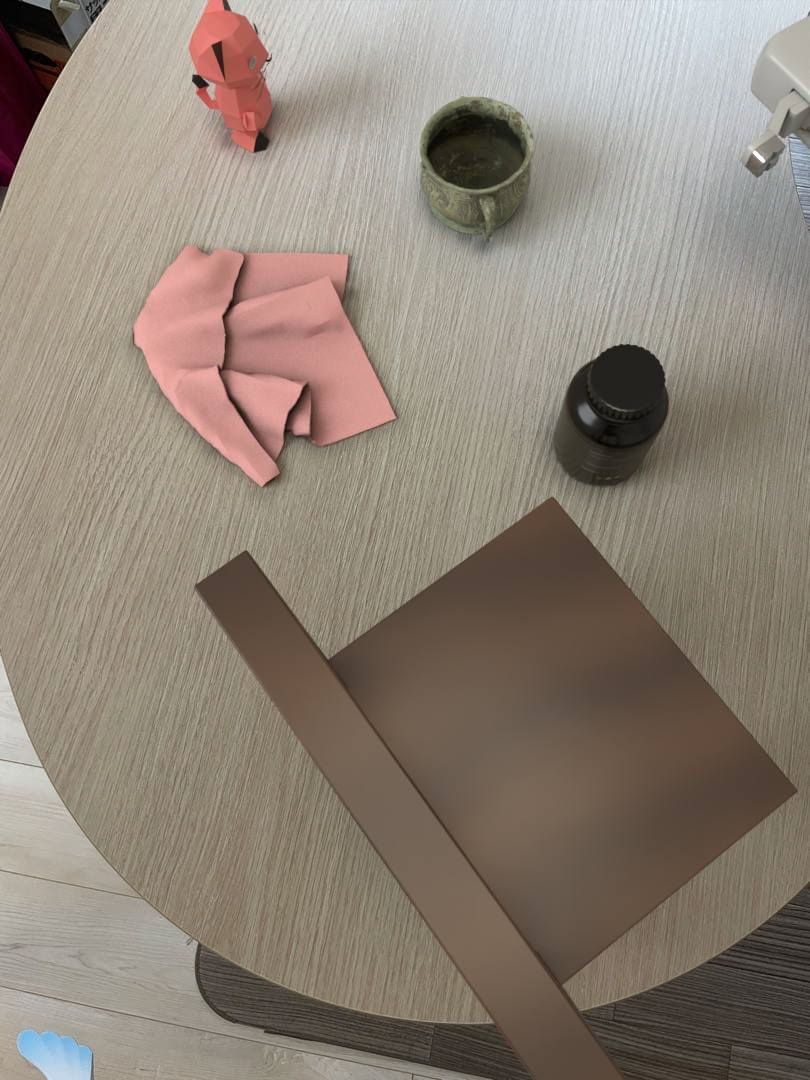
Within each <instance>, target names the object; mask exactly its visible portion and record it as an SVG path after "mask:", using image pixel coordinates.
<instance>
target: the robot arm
mask: <svg viewBox="0 0 810 1080" xmlns="http://www.w3.org/2000/svg"><path fill="white" fill-rule="evenodd" d="M749 89H750V92H751V94H752V95H753V96H754V97H755V98H756V99H757V100H758V101H759V102H760V103H761V104H762V105H763V106H764V107H765V108H766V109H767V110H768V111H769V112H770V113H771V114H772V115H771V117H770V119H769V121H768V123H767V125H766V127H765V130H764V132H763V133H762V134H761V135H759V136H758V137H756V139H754V140H752V141H751V142H750V143H749V144H748V145H747V146H746V148H745V149H744V151H743V153H742V155H741V157H740V159H739V162H740V163H741V165H743V167H745V168H746V169H747V170H748V171H749V172H750V173H751V174H752V175H753V176H754V177H755V178H760V177H761V176H763V175H764V172H768V171H770V170H771V169H772V168H773V167H776V166H777V164H778V162H779V160H780V156H781V155H782V154H783V153H784V151H785V150H786V147H787V145H786V144H785V143H784V142H783V141H782V140H781V139H786V138H788V137H789V136H790V135H792V134H793V135H794V136H795V137H796V138H797V139H798V140H799V141H800V142H802V144H804V146H805V147H807V149H809V150H810V15H807V16H805V17H804V18H802V19H800V20H797V21H795V22H794V23H793V24H791V25H789V26H787V27H785V28H783V29H782V30H780V31H779V32H777V33H775V34H774V35H773V36H772V37H770V38H769V39H768V40H767V42H766V43H765V44H764V46H763V47H762V50H761V52H760V54H759V56H758V58H757V60H756V62H755V65H754V68H753V71H752V75H751V80H750V88H749ZM778 136H779V137H780V138H781V139H780V138H779V137H778Z"/></svg>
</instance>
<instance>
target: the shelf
mask: <svg viewBox="0 0 810 1080" xmlns="http://www.w3.org/2000/svg"><path fill="white" fill-rule="evenodd" d="M193 588H194V590H195V592H196V594H197V595H198V596H199V597H200V599H201V601H202V602H203V604H204V605H205V606H206V608H207V609H208V611H209V612H210V614H211V615H212V617H213V618H214V619H215V621H216V622H217V624H218V625H219V627H220V628H221V630H222V631H223V632H224V634H225V635H226V637H227V639H228V640H229V641H230V642H231V644H232V645H233V647H234V648H235V650H236V651H237V653H238V654H239V656H240V657H241V659H242V660H243V661H244V663H245V664H246V666H247V667H248V669H249V670H250V671H251V673H252V675H253V676H254V677H255V679H256V680H257V682H258V683H259V685H260V686H261V687H262V689H263V690H264V692H265V693H266V695H267V696H268V698H269V699H270V701H271V702H272V703H273V705H274V707H276V710H278V712H279V714H280V716H282V718H283V719H284V721H285V722H286V724H287V725H288V727H289V728H290V730H291V731H292V733H293V734H294V735H295V737H296V739H298V741H299V743H300V744H301V745H302V747H303V749H305V751H306V752H307V753H306V754H308V756H309V757H310V758H311V760H312V762H313V763H314V764H315V766H316V767H317V768H318V770H319V772H320V773H321V774H322V776H323V778H324V779H325V780H326V781H327V784H328V785H329V787H331V789H332V791H333V792H334V793H335V795H336V796H337V798H338V799H339V801H340V802H341V803H342V805H343V806H344V808H345V809H346V810H347V812H348V814H349V815H350V816H351V818H352V819H353V821H354V822H355V824H356V825H357V827H358V828H359V829H360V830H361V832H362V834H363V835H364V837H365V838H366V840H367V841H368V842H369V844H370V845H371V847H372V848H373V849H374V851H375V852H376V854H377V855H378V857H379V858H380V860H381V861H382V863H383V864H384V866H385V867H386V868H387V870H388V872H389V873H390V874H391V876H392V877H393V879H394V880H395V882H396V883H397V885H398V886H399V888H400V889H401V890H402V892H403V893H404V895H405V896H406V897H407V899H408V900H409V901H410V903H411V905H412V906H413V908H414V909H415V911H416V912H417V913H418V915H419V916H420V918H421V920H422V921H423V922H424V923H425V925H426V927H427V928H428V930H429V931H430V932H431V933H432V935H433V936H434V938H435V940H436V941H437V942H438V944H439V945H440V947H441V948H442V949H443V951H444V953H445V954H446V955H447V957H448V958H449V959H450V962H452V964H453V966H454V967H455V969H456V970H457V971H458V973H459V974H460V975H461V977H462V979H463V980H464V982H465V983H466V984H467V986H468V987H469V989H470V990H471V991H472V993H473V995H474V996H475V997H476V999H477V1000H478V1002H479V1003H480V1004H481V1006H482V1008H483V1009H484V1010H485V1012H486V1014H487V1015H488V1016H489V1018H490V1019H491V1021H492V1022H493V1024H494V1025H495V1026H496V1028H497V1029H498V1030H499V1032H500V1034H501V1035H502V1036H503V1038H504V1039H505V1041H506V1042H507V1044H508V1045H509V1046H510V1048H511V1050H512V1051H513V1052H514V1054H515V1055H516V1057H517V1058H518V1060H519V1061H520V1063H521V1064H522V1065H523V1067H524V1069H525V1070H526V1072H528V1074H529V1076H530V1077H531V1079H532V1080H629V1079H628V1078H627V1076H626V1075H625V1073H624V1072H623V1071H622V1069H621V1068H620V1066H619V1065H618V1063H617V1062H616V1061H615V1059H614V1058H613V1056H612V1055H611V1053H610V1052H609V1050H608V1049H607V1047H606V1046H605V1045H604V1043H603V1042H602V1040H601V1039H600V1037H599V1036H598V1035H597V1034H596V1032H595V1030H594V1029H593V1027H592V1026H591V1025H590V1023H589V1022H588V1020H587V1019H586V1018H585V1016H584V1015H583V1013H582V1012H581V1010H580V1009H579V1007H578V1006H577V1005H576V1003H575V1001H574V1000H573V999H572V997H571V996H570V994H568V991H567V990H566V989H565V988H564V986H563V985H564V984H566V983H567V982H568V981H570V979H572V978H573V977H574V976H575V975H577V974H578V973H580V971H582V969H583V968H585V967H587V966H588V965H589V964H590V963H592V962H593V961H594V960H595V959H596V958H598V957H599V956H600V955H601V954H602V953H603V952H605V951H606V950H607V949H608V948H609V947H611V946H612V945H613V944H614V943H616V942H617V941H618V940H619V939H620V938H622V937H623V936H624V935H625V934H627V933H628V932H629V931H630V930H632V928H634V927H635V926H636V925H638V924H639V923H640V922H641V921H642V920H644V919H645V918H646V917H648V916H649V915H650V914H651V913H652V912H653V911H654V910H656V909H658V907H660V906H661V905H662V904H663V903H664V902H666V901H667V900H668V899H669V898H670V897H671V896H673V895H674V894H675V893H677V892H678V891H679V890H680V889H681V888H682V887H684V886H685V885H686V884H687V883H689V881H692V879H693V878H695V877H696V876H697V875H699V874H700V873H701V872H702V871H703V870H705V869H706V867H708V866H709V865H711V864H712V863H713V862H714V861H716V860H717V859H718V858H719V857H720V856H721V855H723V854H724V853H725V852H726V851H728V850H729V849H730V848H731V847H732V846H733V845H735V844H736V843H737V842H738V841H740V840H741V839H742V838H744V836H746V835H747V834H749V833H750V832H751V831H752V830H753V829H754V828H756V827H757V826H758V825H759V824H760V823H761V822H763V821H764V820H765V819H767V818H768V817H769V816H770V815H772V813H774V812H775V811H776V810H778V809H779V808H780V807H781V806H782V805H783V804H785V803H786V802H787V801H788V800H790V799H791V798H792V797H793V796H795V795H796V794H797V793H798V789H797V787H795V785H794V784H793V783H792V782H791V780H790V779H789V778H788V777H787V776H786V774H785V773H784V772H783V770H781V768H780V767H779V765H777V764H776V762H775V761H774V760H773V759H772V758H771V756H770V755H769V754H768V753H767V752H766V750H765V749H764V748H763V747H762V746H761V745H760V743H759V742H758V741H757V739H756V738H755V737H754V736H753V734H751V732H750V731H749V730H748V728H746V726H745V725H744V724H743V723H742V721H740V719H739V718H738V717H737V715H736V714H735V713H734V712H733V711H732V710H731V708H730V707H729V706H728V705H727V704H726V702H725V701H724V700H723V699H722V697H721V696H720V695H719V694H718V693H717V691H716V690H715V689H714V688H713V687H712V685H711V684H710V683H709V682H708V681H707V680H706V678H705V677H704V676H703V675H702V674H701V672H700V671H699V670H698V669H697V667H696V666H695V665H694V664H693V663H692V661H691V660H690V659H689V658H688V657H687V655H686V654H685V653H684V652H683V651H682V649H681V648H680V647H679V646H678V645H677V644H676V642H675V641H674V640H673V639H672V637H671V636H670V635H669V634H668V633H667V632H666V630H665V629H664V628H663V627H662V626H661V624H660V623H659V622H658V621H657V619H656V618H655V617H654V616H653V615H652V614H651V612H650V611H649V609H647V607H646V606H645V605H644V604H643V603H642V601H641V599H639V598H638V596H637V595H635V593H634V591H632V590H631V588H630V587H629V586H628V585H627V583H626V582H625V581H624V580H623V579H622V577H621V576H620V575H619V574H618V573H617V571H616V570H615V569H614V568H613V567H612V566H611V564H610V563H609V562H608V561H607V559H606V558H605V557H604V556H603V555H602V553H601V552H600V551H599V550H598V549H597V548H596V546H595V545H594V544H593V542H592V541H591V540H590V539H589V537H588V536H587V535H586V534H585V533H584V532H583V531H582V530H581V528H580V527H579V526H578V525H577V523H576V522H575V521H574V520H573V519H572V517H571V516H570V515H569V514H568V513H567V511H566V510H565V509H564V507H562V505H561V504H560V503H559V502H558V500H557V499H556V498H555V497H554V496H550V497H549V498H547V499H546V500H545V501H543V502H542V503H541V504H539V505H537V506H536V507H535V508H534V509H532V510H531V511H530V512H528V513H526V514H525V515H524V516H523V517H521V518H520V519H519V520H517V521H516V522H514V523H513V524H511V525H510V526H508V527H507V528H506V529H505V530H504V531H502V532H501V533H499V534H498V535H497V536H495V537H494V538H492V539H491V540H490V541H488V542H487V543H486V544H484V545H483V546H481V547H480V548H479V549H477V550H476V551H474V552H473V553H472V554H470V556H467V557H466V558H465V559H464V560H462V561H461V562H460V563H458V564H457V565H455V566H454V567H453V568H451V569H450V570H449V571H447V572H446V573H444V574H443V575H442V576H440V577H439V578H438V579H436V580H435V581H434V582H433V583H431V584H429V585H428V586H427V587H425V588H424V589H423V590H421V591H420V592H418V593H417V594H416V595H415V596H413V597H412V598H410V599H409V600H407V601H406V602H405V603H404V604H402V605H401V606H400V607H398V608H397V609H395V610H394V611H392V612H391V613H390V614H388V615H387V616H386V617H385V618H383V619H382V620H380V621H379V622H378V623H376V624H374V625H373V626H372V627H370V628H369V629H368V630H366V631H365V632H363V633H362V634H361V635H360V636H358V637H357V638H356V639H354V640H352V641H351V642H350V643H349V644H347V645H346V646H345V647H343V648H342V649H340V650H339V651H337V653H335V654H334V655H332V656H331V657H329V658H328V657H327V656H326V654H325V653H324V652H323V651H322V649H321V648H320V646H319V645H318V644H317V642H316V641H315V639H314V638H313V637H312V636H311V634H310V633H309V631H308V630H307V629H306V628H305V626H304V625H303V623H302V622H301V620H300V619H299V618H298V616H297V615H296V614H295V612H294V611H293V610H292V609H291V607H290V606H289V605H288V603H287V602H286V601H285V599H284V598H283V597H282V595H281V593H280V592H279V591H278V590H277V588H276V587H275V586H274V584H273V582H272V581H271V580H270V579H269V578H268V576H267V575H266V573H265V572H264V571H263V570H262V568H261V567H260V565H259V564H258V563H257V561H256V560H255V558H254V557H253V556H252V554H251V553H250V551H248V550H243V551H242V552H240V553H239V554H237V555H236V556H235V557H233V558H232V559H230V560H229V561H227V562H226V563H224V564H223V565H222V566H220V567H219V568H217V569H215V570H214V571H213V572H212V573H210V574H209V575H207V576H206V577H205V578H204V579H201V580H200V581H199V582H197V583H196V584H195V585H194V586H193Z"/></svg>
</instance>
